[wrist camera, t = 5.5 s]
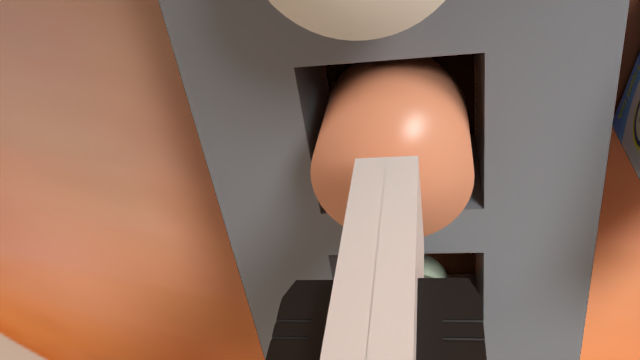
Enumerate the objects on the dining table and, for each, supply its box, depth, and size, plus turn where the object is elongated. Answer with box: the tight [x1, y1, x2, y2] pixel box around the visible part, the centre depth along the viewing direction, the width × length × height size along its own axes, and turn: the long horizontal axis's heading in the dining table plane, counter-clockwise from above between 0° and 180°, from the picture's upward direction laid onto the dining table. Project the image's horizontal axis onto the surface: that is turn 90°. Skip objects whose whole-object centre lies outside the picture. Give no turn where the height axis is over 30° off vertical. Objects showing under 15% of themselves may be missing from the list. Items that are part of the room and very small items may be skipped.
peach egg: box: [310, 57, 475, 237], centre depth 19 cm, size 4×4×6 cm
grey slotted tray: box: [158, 0, 630, 360], centre depth 20 cm, size 22×12×4 cm, turn 8°
